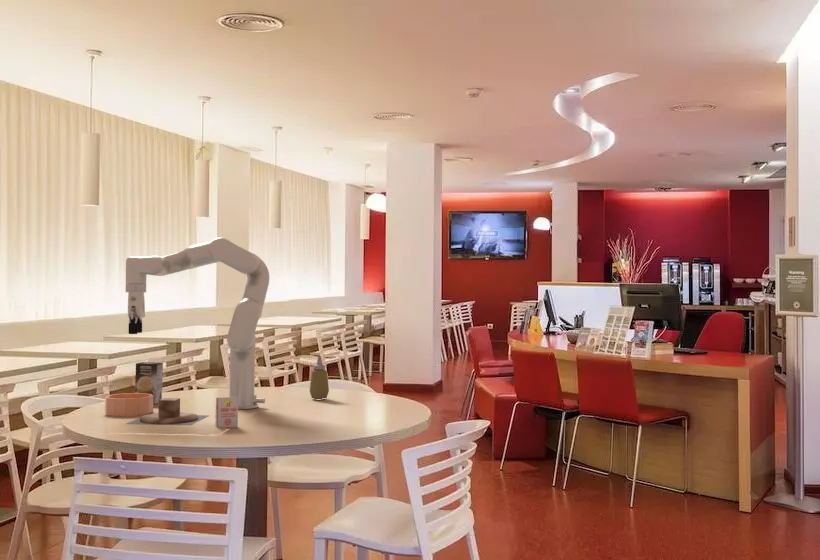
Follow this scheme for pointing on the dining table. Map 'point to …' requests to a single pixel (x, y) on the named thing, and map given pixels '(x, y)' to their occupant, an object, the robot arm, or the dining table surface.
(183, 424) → the mat
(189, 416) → the lid
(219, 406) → the red and white carton
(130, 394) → the bowl
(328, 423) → the dining table surface
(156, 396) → the coffee box
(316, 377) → the squeeze bottle
